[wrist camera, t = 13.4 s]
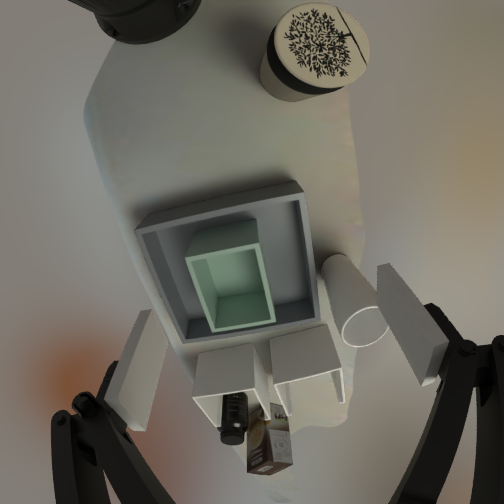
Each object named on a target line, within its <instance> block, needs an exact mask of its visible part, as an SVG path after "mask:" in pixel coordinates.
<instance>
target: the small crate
mask: <svg viewBox="0 0 504 504" xmlns="http://www.w3.org/2000/svg"><path fill="white" fill-rule="evenodd" d="M185 260H186V263H187V266H188V269H189V272H190V275H191V277H192V280H193V283H194V286H195V288H196V291H197V294H198V297H199V299H200V302H201V305H202V307H203V310H204V313H205V315H206V318H207V320H208V323H209V325H210V328H211V331H212V333H213V332H219V331H226V330H232V329H239V328H245V327H251V326H256V325H262V324H268V323H273V322H276V316H275V309H274V302H273V295H272V288H271V284H270V279H269V274H268V270H267V265H266V260H265V256H264V251H263V247H262V242H261V237H260V233H259V228H258V224H257V219H254V220H250V221H245V222H240V223H235V224H230V225H226V226H221V227H216V228H212V229H207V230H203V231H198V232H195V233H194V236H193V238H192V241H191V243H190V246H189V248H188V251H187V253H186V256H185Z"/></svg>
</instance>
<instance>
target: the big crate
mask: <svg viewBox="0 0 504 504" xmlns="http://www.w3.org/2000/svg"><path fill="white" fill-rule="evenodd" d="M254 219H257V224H258V228H259V233H260V237H261V242H262V247H263V251H264V256H265V260H266V265H267V270H268V274H269V279H270V284H271V288H272V295H273V302H274V309H275V316H276V322H273V323H268V324H262V325H256V326H251V327H245V328H239V329H232V330H226V331H219V332H213V333H212V331H211V328H210V325H209V323H208V320H207V318H206V315H205V313H204V310H203V307H202V305H201V302H200V299H199V297H198V294H197V291H196V288H195V286H194V283H193V280H192V277H191V275H190V272H189V269H188V266H187V263H186V260H185V256H186V253H187V251H188V248H189V246H190V243H191V241H192V238H193V236H194V233H195V232H198V231H203V230H207V229H212V228H216V227H221V226H226V225H230V224H235V223H240V222H245V221H250V220H254ZM134 231H135V234H136V236H137V239H138V242H139V244H140V247H141V250H142V252H143V255H144V257H145V260H146V262H147V265H148V267H149V270H150V272H151V275H152V277H153V279H154V282H155V284H156V286H157V289H158V291H159V293H160V296H161V298H162V300H163V303H164V305H165V307H166V309H167V311H168V314H169V316H170V318H171V320H172V322H173V324H174V327H175V329H176V331H177V333H178V335H179V337H180V339H181V341H182V343H183V344H184V343H192V342H200V341H208V340H215V339H222V338H228V337H235V336H241V335H247V334H253V333H259V332H265V331H270V330H276V329H281V328H286V327H291V326H296V325H301V324H306V323H311V322H316V321H320V320H321V318H320V308H319V298H318V289H317V280H316V271H315V263H314V255H313V247H312V240H311V232H310V225H309V218H308V211H307V205H306V198H305V192H304V191H303V189H302V188H301V187H300V185H299V184H298V183H297V182H296V181H295V182H290V183H284V184H279V185H274V186H269V187H264V188H259V189H254V190H250V191H245V192H240V193H236V194H231V195H227V196H222V197H218V198H213V199H209V200H205V201H201V202H196V203H192V204H188V205H184V206H180V207H176V208H172V209H168V210H164V211H161V212H157V213H153V214H149V215H147V216H146V217H145V218H144V220H143V221H142V222H141V223H140V224H139V225H138V226H137V228H136V229H135V230H134Z"/></svg>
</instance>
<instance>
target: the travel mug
mask: <svg viewBox="0 0 504 504" xmlns="http://www.w3.org/2000/svg"><path fill="white" fill-rule="evenodd" d="M369 57H370V47H369V42H368V38H367V36H366V34H365V32H364V30H363V28H362V27H361V25H360V24H359V23H358V22H357V21H356V20H355V19H354V18H353V17H352V16H351V15H349V14H348V13H347V12H345V11H343V10H342V9H340V8H337V7H335V6H332V5H329V4H324V3H306V4H302V5H298V6H296V7H294V8H292V9H290V10H289V11H288V12H286V13H285V14H284V15H283V16H282V17H281V19H280V20H279V22H278V24H277V25H276V26H275V28H274V29H273V31H272V32H271V34H270V37H269V40H268V43H267V47H266V50H265V53H264V56H263V60H262V63H261V66H260V79H261V82H262V84H263V86H264V88H265V89H266V90H267V91H268V92H269V93H270V94H271V95H272V96H274V97H275V98H277V99H280V100H283V101H288V102H296V101H301V100H304V99H308V98H311V97H315V96H318V95H322V94H326V93H330V92H334V91H336V90H339V89H341V88H342V87H344V86H345V85H348V84H350V83H352V82H354V81H355V80H356V79H357V78H359V77H360V76H361V75H362V73H363V72H364V71H365V69H366V67H367V65H368V62H369Z"/></svg>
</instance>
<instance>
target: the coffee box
mask: <svg viewBox="0 0 504 504" xmlns="http://www.w3.org/2000/svg"><path fill="white" fill-rule="evenodd" d="M270 413H271V420H265V417H264V410H263V408H262V406H260V407H259V408H258V409H257V410H256V411H255V412H253V413H252V414H251V415H250V416H249V428H248V430H247V473H252V474H259V475H272V474H274V473H276V472H279V471H281V470H283V469H285V468H287V467H289V466H291V465H293V461H292V451H291V442H290V432H289V423H288V416H287V415H286V413H285V410H284V408H283V406H279V405H275V404H272V403H270Z"/></svg>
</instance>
